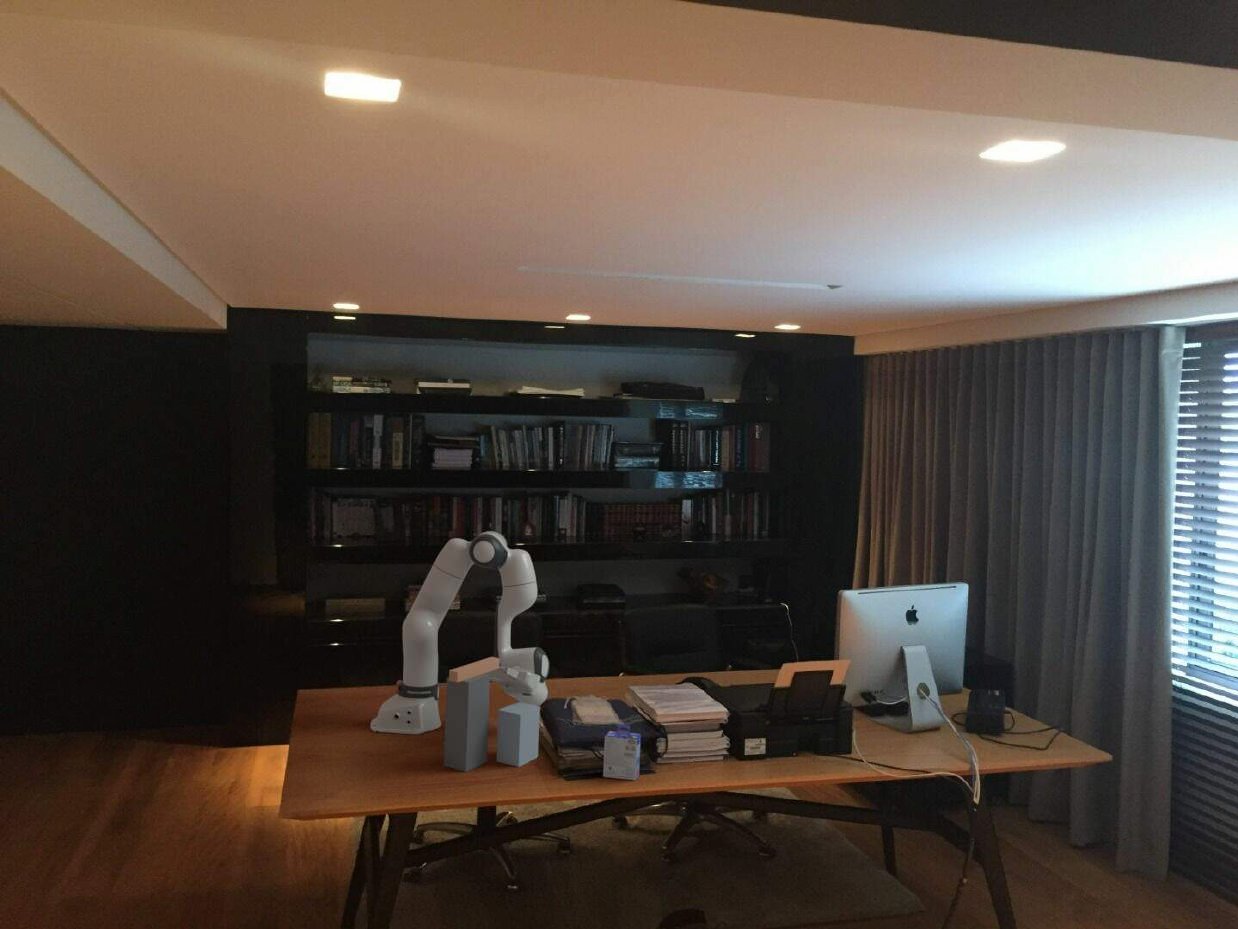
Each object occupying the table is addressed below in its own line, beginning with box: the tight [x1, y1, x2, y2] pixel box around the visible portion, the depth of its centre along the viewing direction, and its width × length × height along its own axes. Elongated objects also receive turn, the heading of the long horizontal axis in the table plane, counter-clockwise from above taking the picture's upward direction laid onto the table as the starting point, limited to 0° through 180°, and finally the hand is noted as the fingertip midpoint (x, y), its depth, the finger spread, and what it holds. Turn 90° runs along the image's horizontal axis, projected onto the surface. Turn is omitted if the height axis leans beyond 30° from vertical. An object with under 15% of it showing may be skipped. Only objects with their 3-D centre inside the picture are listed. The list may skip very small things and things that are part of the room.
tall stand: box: [443, 674, 491, 773], centre depth 289 cm, size 10×8×26 cm
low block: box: [496, 701, 541, 768], centre depth 295 cm, size 10×8×16 cm
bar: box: [448, 656, 499, 683], centre depth 291 cm, size 20×3×3 cm, turn 151°
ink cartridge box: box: [602, 724, 642, 781], centre depth 285 cm, size 10×6×14 cm, turn 78°
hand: (493, 667), depth 299 cm, fingers open, 8 cm apart
